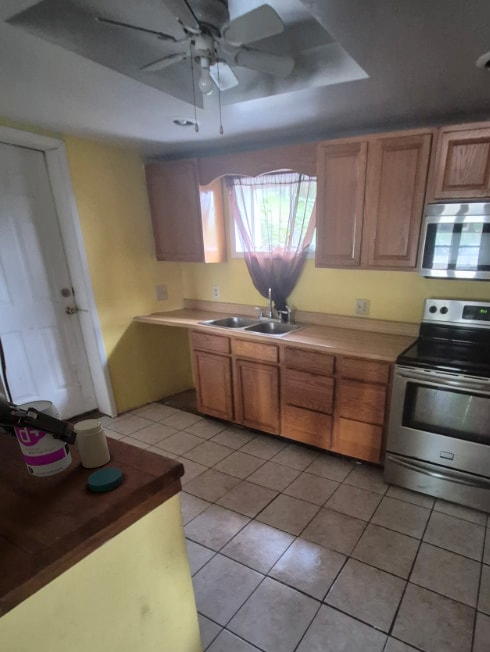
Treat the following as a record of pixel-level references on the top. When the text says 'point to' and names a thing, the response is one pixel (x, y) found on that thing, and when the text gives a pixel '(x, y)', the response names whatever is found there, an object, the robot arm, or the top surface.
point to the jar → (91, 443)
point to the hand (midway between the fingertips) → (54, 438)
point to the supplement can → (43, 444)
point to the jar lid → (105, 479)
